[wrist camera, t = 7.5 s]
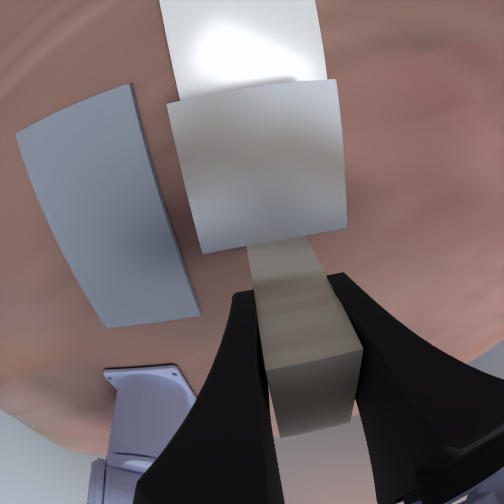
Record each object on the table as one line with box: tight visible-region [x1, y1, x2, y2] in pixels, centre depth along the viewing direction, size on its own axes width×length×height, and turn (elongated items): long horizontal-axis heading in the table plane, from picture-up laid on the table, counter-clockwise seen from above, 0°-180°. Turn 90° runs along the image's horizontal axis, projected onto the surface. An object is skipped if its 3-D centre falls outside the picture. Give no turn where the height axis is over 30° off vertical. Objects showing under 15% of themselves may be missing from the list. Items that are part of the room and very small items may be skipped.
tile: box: [159, 0, 327, 101], centre depth 12 cm, size 2×7×9 cm
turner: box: [167, 79, 363, 438], centre depth 9 cm, size 10×6×7 cm, turn 9°
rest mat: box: [15, 83, 201, 328], centre depth 17 cm, size 16×8×1 cm, turn 9°
